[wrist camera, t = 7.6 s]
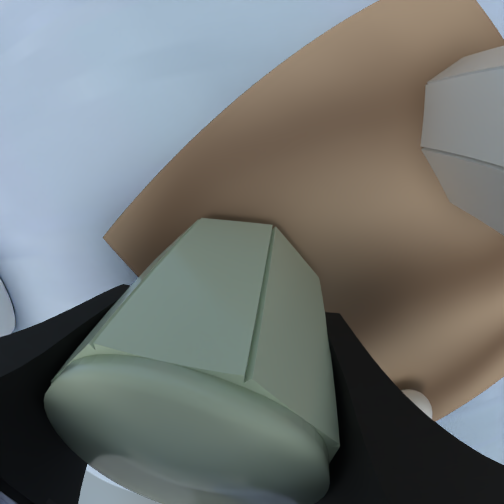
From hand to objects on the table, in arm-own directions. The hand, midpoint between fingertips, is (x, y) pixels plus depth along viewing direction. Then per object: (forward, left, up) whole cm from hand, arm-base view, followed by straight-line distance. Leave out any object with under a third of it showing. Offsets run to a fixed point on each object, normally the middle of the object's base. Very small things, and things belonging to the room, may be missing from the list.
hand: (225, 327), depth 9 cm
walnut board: (-5, -6, -3) cm, 8 cm away
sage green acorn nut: (0, 0, -2) cm, 2 cm away
